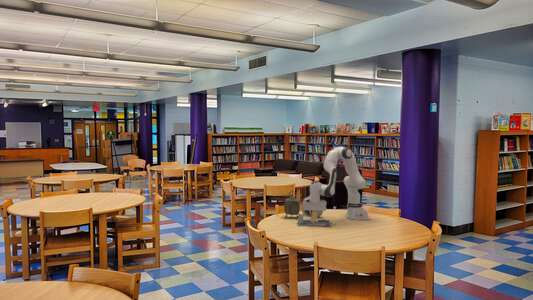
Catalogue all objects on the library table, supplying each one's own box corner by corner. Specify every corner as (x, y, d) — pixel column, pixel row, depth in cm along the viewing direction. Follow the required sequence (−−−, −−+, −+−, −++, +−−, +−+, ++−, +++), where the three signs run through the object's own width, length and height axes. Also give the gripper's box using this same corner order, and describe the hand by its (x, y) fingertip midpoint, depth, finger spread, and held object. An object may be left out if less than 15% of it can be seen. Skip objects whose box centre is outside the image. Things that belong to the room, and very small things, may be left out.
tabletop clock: (299, 217, 363) (300, 190, 362) (299, 219, 354) (300, 192, 353) (284, 216, 365) (284, 190, 363) (283, 218, 356) (284, 191, 354)
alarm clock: (300, 214, 373) (301, 194, 372) (306, 213, 378) (306, 193, 377) (318, 218, 358) (318, 197, 357) (323, 217, 363) (323, 196, 362)
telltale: (314, 223, 333) (314, 220, 333) (314, 224, 331) (314, 220, 331) (312, 223, 333) (312, 220, 333) (312, 224, 331) (312, 220, 331)
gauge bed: (329, 222, 345) (330, 214, 345) (331, 227, 329) (331, 218, 329) (298, 221, 347) (298, 213, 347) (298, 225, 331) (298, 217, 331)
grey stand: (317, 221, 341) (317, 210, 341) (318, 224, 330) (318, 213, 330) (297, 220, 343) (297, 209, 342) (297, 223, 332) (297, 212, 331)
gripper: (326, 199, 339) (326, 215, 340) (302, 198, 341) (302, 214, 342) (326, 200, 333) (326, 216, 334) (303, 200, 334) (302, 215, 335)
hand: (314, 215), depth 338 cm, fingers open, 4 cm apart
